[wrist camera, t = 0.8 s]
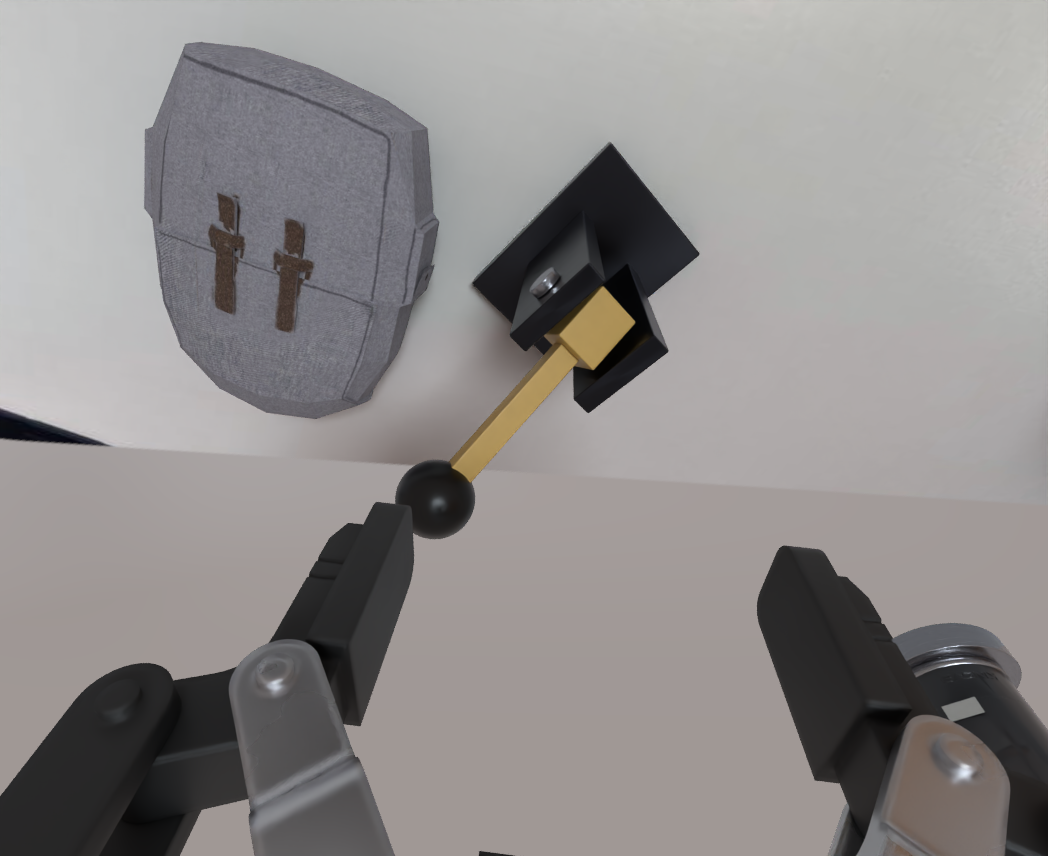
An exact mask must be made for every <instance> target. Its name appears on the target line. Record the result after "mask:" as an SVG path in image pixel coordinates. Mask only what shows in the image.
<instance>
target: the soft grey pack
mask: <svg viewBox="0 0 1048 856" xmlns="http://www.w3.org/2000/svg"><path fill="white" fill-rule="evenodd" d="M144 208H145V209H146V211H147V212H148V214H149V215H150V216H151V218H152V219H153V228H154V236H155V244H156V253H157V261H158V269H159V278H160V286H161V289H162V294H163V301H164V304H165V306H166V309H167V312H168V314H169V317H170V320H171V322H172V325H173V328H174V330H175V333H176V336H177V338H178V341H179V344H180V347H181V348H182V349H183V350H184V351H185V352H186V353H187V355H188V356H189V357H190V358H191V359H192V360H193V361H194V362H195V363H196V364H197V365H198V366H199V367H200V368H201V369H202V370H203V371H204V373H205V374H206V375H207V376H208V377H209V378H210V379H211V380H212V381H213V382H214V383H215V384H216V385H217V386H218V387H219V388H220V389H222V390H224V391H226V392H228V393H230V394H232V395H234V396H235V397H237V398H239V399H241V400H243V401H245V402H247V403H249V404H251V405H253V406H255V407H257V408H259V409H261V410H263V411H265V412H267V413H274V414H282V415H290V416H297V417H305V418H313V419H317V418H320V417H323V416H326V415H329V414H332V413H335V412H339V411H342V410H345V409H348V408H351V407H354V406H357V405H360V404H362V403H364V402H366V401H368V400H370V399H371V397H372V393H373V389H374V387H375V386H376V384H377V383H378V381H379V380H380V378H381V377H382V375H383V374H384V372H385V371H386V369H387V368H388V367H389V365H390V364H391V362H392V361H393V359H394V358H395V356H396V355H397V353H398V350H399V348H400V345H401V343H402V340H403V337H404V334H405V330H406V327H407V324H408V320H409V317H410V313H411V310H412V306H413V303H414V301H415V300H416V299H417V298H418V297H419V296H420V295H421V294H422V293H423V292H424V291H425V290H426V289H427V286H428V283H429V280H430V277H431V274H432V271H433V269H434V265H435V264H434V265H433V266H431V263H432V257H433V252H434V247H435V242H436V236H437V231H438V226H439V221H438V219H437V218H436V216H435V215H434V214H433V200H432V186H431V173H430V159H429V145H428V131H427V128H426V127H425V126H423V125H422V124H421V123H419V122H418V121H416V120H415V119H413V118H412V117H410V116H409V115H407V114H406V113H405V112H403V111H402V110H400V109H399V108H397V107H396V106H394V105H393V104H391V103H390V102H389V101H387V100H385V99H383V98H381V97H379V96H377V95H375V94H372V93H370V92H368V91H366V90H364V89H362V88H360V87H357V86H355V85H353V84H351V83H349V82H347V81H345V80H342V79H340V78H338V77H336V76H334V75H332V74H329V73H327V72H325V71H323V70H321V69H319V68H316V67H313V66H310V65H306V64H303V63H300V62H297V61H294V60H290V59H287V58H284V57H281V56H278V55H274V54H271V53H268V52H265V51H262V50H258V49H255V48H248V47H239V46H230V45H221V44H212V43H203V42H198V43H189V44H185V46H184V49H183V51H182V54H181V56H180V59H179V62H178V64H177V67H176V69H175V72H174V74H173V77H172V79H171V82H170V84H169V87H168V90H167V92H166V95H165V97H164V100H163V102H162V105H161V107H160V110H159V112H158V115H157V117H156V120H155V123H154V125H153V127H151V128H148V129H145V197H144Z"/></svg>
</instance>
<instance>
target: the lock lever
mask: <svg viewBox="0 0 1048 856" xmlns="http://www.w3.org/2000/svg"><path fill="white" fill-rule="evenodd" d="M634 324H635V321H634V320H633V319H632V318H631V316H630V315H629V314H628V313H627V312H626V311H625V310H624V309H623V308H622V306H621V305H620V304H619V303H618V302H617V301H616V300H615V299H614V298H613V296H612V295H611V294H610V293H609V292H608V291H607V290H606V289H605V287H603V286H600V287H598V288H597V289H596V290H595V291H594V292H593V293H592V294H590V295H589V296H588V297H587V298H586V299H585V300H584V301H582V302H581V303H580V304H579V305H578V306H577V307H576V308H575V309H573V310H572V311H571V312H570V313H569V314H568V315H567V316H565V317H564V318H563V319H562V320H561V321H560V322H559V323H558V324H556V325H555V326H554V327H553V328H552V329H551V330H550V331H548V332H547V333H546V334H545V335H544V337H545V338H546V339H547V340H548V341H549V342H550V343H551V344H552V347H551V348H550V349H549V350H548V351H547V352H546V353H545V354H544V356H543V357H542V358H541V359H540V360H539V361H538V362H537V363H536V364H535V366H534V367H533V368H532V369H531V370H530V371H529V372H528V373H527V375H526V376H525V377H524V378H523V379H522V380H521V381H520V382H519V384H518V385H517V386H516V387H515V388H514V389H513V390H512V391H511V393H510V394H509V395H508V396H507V397H506V398H505V399H504V400H503V401H502V403H501V404H500V405H499V406H498V407H497V408H496V409H495V410H494V412H493V413H492V414H491V415H490V416H489V417H488V418H487V419H486V421H485V422H484V423H483V424H482V425H481V426H480V427H479V428H478V430H477V431H476V432H475V433H474V434H473V435H472V436H471V437H470V438H469V440H468V441H467V442H466V443H465V444H464V445H463V446H462V447H461V449H460V450H459V451H458V452H457V453H456V454H455V455H454V456H453V458H452V459H451V460H450V461H449V462H447V461H443V460H429V461H425V462H422V463H419V464H417V465H415V466H414V467H412V468H411V469H410V470H409V471H408V472H407V473H406V474H405V475H404V476H403V477H402V479H401V481H400V483H399V485H398V487H397V491H396V497H395V499H396V500H395V502H396V503H395V504H399V505H408V506H410V507H411V509H412V523H413V533H414V534H416V535H418V536H420V537H423V538H428V539H441V538H445V537H448V536H451V535H453V534H455V533H456V532H458V531H459V530H460V529H462V528H463V527H464V526H465V524H466V523H467V522H468V520H469V519H470V517H471V515H472V512H473V509H474V504H475V493H474V488H473V485H472V483H471V482H472V481H473V479H474V478H475V477H476V476H477V475H478V474H479V473H480V472H481V471H482V469H483V468H484V467H485V466H486V465H487V464H488V463H489V461H490V460H491V459H492V458H493V457H494V456H495V455H496V454H497V452H498V451H499V450H500V449H501V448H502V447H503V446H504V445H505V443H506V442H507V441H508V440H509V439H510V438H511V437H512V436H513V434H514V433H515V432H516V431H517V430H518V429H519V428H520V427H521V425H522V424H523V423H524V422H525V421H526V420H527V419H528V418H529V416H530V415H531V414H532V413H533V412H534V411H535V410H536V409H537V407H538V406H539V405H540V404H541V403H542V402H543V401H544V400H545V398H546V397H547V396H548V395H549V394H550V393H551V392H552V390H553V389H554V388H555V387H556V386H557V385H558V384H559V383H560V381H561V380H562V379H563V378H564V377H565V376H566V375H567V374H568V372H569V371H570V370H571V369H572V368H573V367H574V366H576V367H581V368H585V369H590V370H594V369H595V368H596V367H597V366H598V365H599V364H600V362H601V361H602V360H603V359H604V358H605V357H606V356H607V354H608V353H609V352H610V351H611V350H612V349H613V348H614V347H615V345H616V344H617V343H618V342H619V341H620V340H621V339H622V338H623V336H624V335H625V334H626V333H627V332H628V331H629V330H630V328H631V327H632V326H633V325H634Z"/></svg>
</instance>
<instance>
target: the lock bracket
mask: <svg viewBox="0 0 1048 856" xmlns="http://www.w3.org/2000/svg"><path fill="white" fill-rule="evenodd" d="M697 256H699V252H698V251H697V250H696V248H695V247H694V246H693V245H692V243H691V242H690V241H689V240H688V238H687V237H686V236H685V235H684V233H683V232H682V231H681V230H680V228H679V227H678V226H677V225H676V223H675V222H674V221H673V220H672V218H671V217H670V216H669V215H668V213H667V212H666V211H665V210H664V208H663V207H662V206H661V204H660V203H659V202H658V201H657V199H656V198H655V197H654V196H653V194H652V193H651V192H650V191H649V189H648V188H647V187H646V186H645V184H644V183H643V182H642V181H641V179H640V178H639V177H638V176H637V174H636V173H635V172H634V171H633V169H632V168H631V167H630V166H629V164H628V163H627V162H626V161H625V159H624V158H623V157H622V156H621V154H620V153H619V152H618V151H617V149H616V148H615V147H614V146H613V144H612V143H611V142H609V143H608V144H607V145H606V146H605V147H604V148H603V149H602V150H601V151H600V152H599V153H598V154H597V155H596V156H595V157H594V158H593V159H592V160H591V161H590V162H589V163H588V164H587V165H586V166H585V167H584V168H583V169H582V170H581V171H580V172H579V173H578V174H577V175H576V176H575V177H574V178H573V179H572V180H571V181H570V182H569V183H568V184H567V185H566V186H565V187H564V188H563V189H562V191H561V192H560V193H559V194H558V195H557V196H556V197H555V198H554V199H553V200H552V201H551V202H550V203H549V204H548V205H547V206H546V207H545V208H544V209H543V210H542V211H541V212H540V213H539V214H538V215H537V216H536V217H535V218H534V219H533V220H532V221H531V222H530V223H529V224H528V225H527V226H526V227H525V228H524V229H523V230H522V231H521V232H520V233H519V234H518V235H517V236H516V237H515V238H514V239H513V240H512V241H511V242H510V243H509V244H508V245H507V246H506V247H505V248H504V249H503V250H502V251H501V252H500V253H499V254H498V255H497V256H496V257H495V258H494V259H493V260H492V261H491V263H490V264H489V265H488V266H487V267H486V268H485V269H484V270H483V271H482V272H481V273H480V274H479V275H478V276H477V277H476V278H475V279H474V281H473V283H472V284H473V285H474V286H475V287H476V288H477V289H478V290H479V291H480V292H481V293H482V294H483V295H484V296H485V297H486V298H487V299H488V300H489V301H490V302H491V303H492V304H493V305H494V306H495V307H496V308H497V309H498V310H499V311H500V312H501V313H502V314H503V315H504V316H505V317H506V318H507V319H508V320H509V321H510V322H511V323H512V328H511V332H510V337H511V338H512V339H513V340H514V341H515V342H516V343H517V344H518V345H519V346H520V347H521V348H522V349H523V350H524V351H527V350H528V349H529V348H530V347H532V346H533V345H534V346H535V347H536V348H537V349H538V350H539V351H540V352H541V353H542V354H543V355H544V354H545V353H546V352H547V351H548V350H549V349H550V348H551V347H552V344H551V343H550V342H549V341H548V340H547V339H546V338H545V337H544V335H545V334H546V333H547V332H548V331H550V330H551V329H552V328H553V327H554V326H555V325H556V324H558V323H559V322H560V321H561V320H562V319H563V318H564V317H565V316H567V315H568V314H569V313H570V312H571V311H572V310H573V309H575V308H576V307H577V306H578V305H579V304H580V303H581V302H582V301H584V300H585V299H586V298H587V297H588V296H589V295H590V294H592V293H593V292H594V291H595V290H596V289H597V288H598V287H600V286H603V287H605V289H606V290H607V291H608V292H609V293H610V294H611V295H612V296H613V298H614V299H615V300H616V301H617V302H618V303H619V304H620V305H621V306H622V308H623V309H624V310H625V311H626V312H627V313H628V314H629V315H630V316H631V318H632V319H633V320H634V321H635V324H634V325H633V326H632V327H631V328H630V330H629V331H628V332H627V333H626V334H625V335H624V336H623V338H622V339H621V340H620V341H619V342H618V343H617V344H616V345H615V347H614V348H613V349H612V350H611V351H610V352H609V353H608V354H607V356H606V357H605V358H604V359H603V360H602V361H601V362H600V364H599V365H598V366H597V367H596V368H595V369H594V370H590V369H585V368H581V367H576V366H574V367H573V385H574V400H575V401H576V402H577V403H578V404H579V405H580V406H581V407H582V408H583V409H584V410H585V411H586V412H587V413H589V412H591V411H592V410H593V409H595V408H596V407H597V406H598V405H600V404H601V403H602V402H604V401H605V400H606V399H608V398H609V397H610V396H612V395H613V394H614V393H615V392H617V391H618V390H619V389H621V388H622V387H623V386H625V385H626V384H627V383H628V382H630V381H631V380H633V379H634V378H635V377H636V376H638V375H639V374H640V373H641V372H643V371H644V370H645V369H647V368H648V367H649V366H651V365H652V364H653V363H655V362H656V361H657V360H658V359H660V358H661V357H662V356H664V355H665V354H666V353H668V348H667V345H666V343H665V340H664V338H663V335H662V333H661V330H660V328H659V325H658V323H657V320H656V318H655V315H654V313H653V310H652V308H651V305H650V303H649V300H648V297H649V296H651V295H652V294H653V293H654V292H655V291H657V290H658V289H659V288H660V287H661V286H663V285H664V284H665V283H666V282H667V281H669V280H670V279H671V278H672V277H673V276H675V275H676V274H677V273H678V272H679V271H681V270H682V269H683V268H684V267H685V266H687V265H688V264H689V263H690V262H691V261H693V260H694V259H695V258H696V257H697Z"/></svg>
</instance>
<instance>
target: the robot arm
mask: <svg viewBox="0 0 1048 856" xmlns="http://www.w3.org/2000/svg"><path fill="white" fill-rule="evenodd" d="M413 549H414V547H413V523H412V509H411V507H410V506H408V505H399V504H390V503H381V502H376V503H375V504H374V505H373V507H372V509H371V511H370V513H369V515H368V517H367V519H366V521H365V523H364V524H363V525H362V524H353V523H348V524H346V525H345V526H344V527H343V528H341V529H340V530H339V531H338V532H336V533H335V534H334V535H333V536H332V537H330V538H329V540H328V542H327V543H326V545H325V547H324V549H323V550H322V552H321V554H320V555H319V558H318V561H316V563H315V564H314V566H313V568H312V569H311V571H310V574H309V577H307V578H306V580H305V582H304V583H303V585H302V587H301V589H300V590H299V592H298V594H297V596H296V597H295V599H294V601H293V603H292V605H291V606H290V608H289V610H288V611H287V613H286V615H285V617H284V618H283V620H282V622H281V624H280V626H279V627H278V629H277V631H276V632H275V634H274V636H273V637H272V639H271V640H270V642H269V643H268V644H265V645H263V646H261V647H259V648H258V649H256V650H254V651H253V652H251V653H250V654H249V655H248V656H246V657H245V658H244V659H243V660H242V661H241V662H240V664H239V665H238V666H237V667H235V668H232V669H230V670H226V671H223V672H219V673H215V674H209V675H203V676H198V677H191V678H186V679H180V680H174V681H173V679H172V677H171V675H170V673H169V672H168V671H167V670H166V669H165V668H163V667H161V666H159V665H156V664H151V663H140V664H133V665H129V666H125V667H122V668H119V669H117V670H114V671H112V672H110V673H108V674H106V675H104V676H103V677H101V678H99V679H98V680H96V681H95V682H94V683H92V684H91V685H90V686H88V687H87V688H86V689H85V690H84V691H83V692H82V693H81V694H80V695H79V696H78V697H77V698H76V700H75V701H74V702H73V703H72V705H71V706H70V707H69V709H68V710H67V711H66V712H65V714H64V715H63V716H62V718H61V719H60V720H59V721H58V723H57V724H56V725H55V727H54V728H53V729H52V731H51V732H50V733H49V734H48V736H47V737H46V738H45V739H44V741H43V742H42V743H41V745H40V746H39V747H38V749H37V750H36V751H35V752H34V754H33V755H32V756H31V757H30V759H29V760H28V761H27V763H26V764H25V765H24V766H23V768H22V769H21V770H20V772H19V773H18V774H17V775H16V777H15V778H14V779H13V781H12V782H11V783H10V785H9V786H8V787H7V788H6V790H5V791H4V792H3V793H2V795H1V796H0V856H180V854H181V852H182V850H183V848H184V846H185V843H186V841H187V839H188V837H189V835H190V833H191V831H192V829H193V826H194V825H195V822H196V820H197V818H198V816H199V814H200V812H201V810H203V809H207V808H211V807H216V806H220V805H224V804H228V803H233V802H237V801H241V800H245V799H249V804H250V814H249V825H250V833H251V839H252V844H253V849H254V855H255V856H395V855H394V852H393V849H392V846H391V844H390V841H389V838H388V835H387V832H386V830H385V827H384V825H383V821H382V819H381V816H380V813H379V810H378V807H377V805H376V802H375V799H374V796H373V794H372V791H371V788H370V785H369V783H368V780H367V777H366V775H365V772H364V769H363V767H362V764H361V762H360V760H359V758H358V757H355V755H354V752H353V750H352V747H351V745H350V742H349V739H348V736H347V733H346V730H345V728H344V725H343V724H347V725H355V726H361V723H362V720H363V717H364V714H365V711H366V709H367V706H368V703H369V700H370V697H371V694H372V691H373V689H374V686H375V683H376V680H377V677H378V674H379V671H380V668H381V666H382V663H383V660H384V657H385V654H386V651H387V648H388V645H389V643H390V640H391V636H392V634H393V631H394V628H395V625H396V622H397V619H398V617H399V614H400V611H401V608H402V605H403V602H404V600H405V596H406V594H407V591H408V588H409V585H410V581H411V577H412V572H413V565H414V550H413ZM757 616H758V622H759V625H760V628H761V631H762V633H763V636H764V639H765V642H766V644H767V648H768V650H769V653H770V656H771V659H772V662H773V664H774V667H775V670H776V672H777V676H778V678H779V681H780V684H781V687H782V689H783V692H784V695H785V698H786V701H787V703H788V706H789V709H790V712H791V715H792V717H793V720H794V723H795V726H796V729H797V732H798V734H799V737H800V740H801V743H802V745H803V748H804V751H805V754H806V757H807V760H808V762H809V765H810V768H811V770H812V773H813V776H814V779H815V780H816V781H825V782H833V783H840V785H841V788H842V790H843V793H844V795H845V797H846V800H847V804H846V805H845V807H844V809H843V812H842V815H841V817H840V820H839V823H838V827H837V829H836V832H835V835H834V838H833V841H832V844H831V847H830V850H829V853H828V856H1048V730H1047V728H1046V727H1045V726H1044V724H1043V723H1042V722H1041V721H1040V719H1039V718H1038V717H1037V715H1036V714H1035V713H1034V711H1033V710H1032V708H1031V707H1030V706H1029V705H1028V703H1027V702H1026V701H1025V699H1024V698H1023V697H1022V695H1021V694H1020V693H1019V691H1018V690H1017V689H1016V687H1015V686H1014V685H1013V683H1012V682H1011V680H1010V678H1009V676H1008V675H1007V674H1006V672H1005V671H1004V670H1003V668H1002V667H1001V666H1000V665H998V664H997V663H996V662H994V661H992V660H989V659H986V658H982V657H977V656H950V657H944V658H939V659H935V660H932V661H929V662H926V663H924V664H921V665H919V666H917V667H915V668H913V669H912V670H911V668H910V666H909V665H908V663H907V661H906V660H905V658H904V656H903V655H902V653H901V651H900V650H899V648H898V646H897V645H896V643H893V641H892V639H893V638H892V636H891V635H890V633H889V631H888V630H887V628H886V626H885V625H884V624H882V623H881V618H880V616H879V615H878V613H877V611H876V610H875V608H874V606H873V605H872V603H871V601H870V600H869V598H868V597H867V596H866V595H865V594H864V593H863V592H862V591H861V590H860V589H859V588H857V587H856V585H854V584H853V583H852V582H851V581H850V580H849V579H848V578H847V577H840V576H837V574H836V572H835V570H834V568H833V567H832V565H831V563H830V561H829V560H828V558H827V556H826V555H825V553H824V552H823V551H821V550H819V549H810V548H801V547H792V546H782V547H780V548H779V550H778V551H777V553H776V556H775V558H774V560H773V563H772V565H771V568H770V570H769V572H768V574H767V577H766V579H765V582H764V584H763V586H762V589H761V591H760V594H759V597H758V602H757ZM479 856H513V855H505V854H498V853H490V852H482V851H480V852H479Z"/></svg>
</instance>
